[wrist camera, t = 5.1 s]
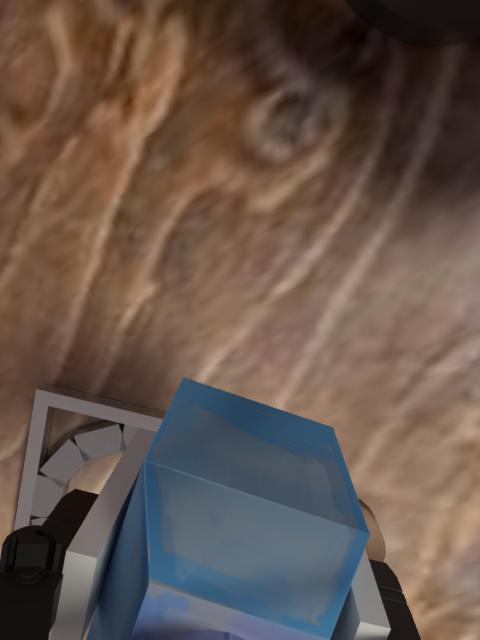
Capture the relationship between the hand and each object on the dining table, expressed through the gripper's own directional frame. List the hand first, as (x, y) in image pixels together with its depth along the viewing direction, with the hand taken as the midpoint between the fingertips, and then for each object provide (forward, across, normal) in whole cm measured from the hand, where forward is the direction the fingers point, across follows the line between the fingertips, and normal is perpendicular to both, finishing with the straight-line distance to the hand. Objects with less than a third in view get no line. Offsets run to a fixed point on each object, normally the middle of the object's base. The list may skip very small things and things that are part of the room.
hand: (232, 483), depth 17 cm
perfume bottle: (+1, 0, 0) cm, 1 cm away
